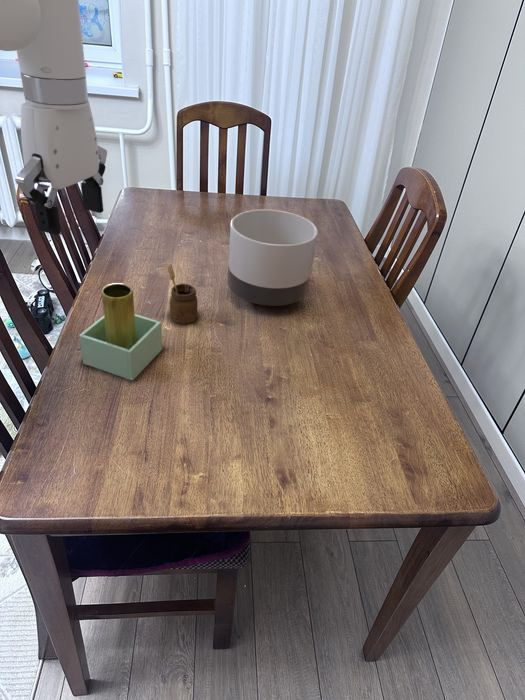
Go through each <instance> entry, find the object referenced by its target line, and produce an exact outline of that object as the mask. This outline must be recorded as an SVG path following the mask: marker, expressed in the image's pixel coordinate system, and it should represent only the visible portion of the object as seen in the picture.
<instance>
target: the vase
mask: <svg viewBox="0 0 525 700" xmlns="http://www.w3.org/2000/svg"><path fill="white" fill-rule="evenodd" d="M101 298H102V307H103V316H104V318H105V330H106V342H107V343H110V344H113V345H116V346H119V347H122V348H125V349H128V350H129V349H130V348H132V347H133V346H134V345H135V344H136V343H137V342H138V338H137V332H136V327H135V314H136V312H135V302H134V301H135V300H134V290H133V288H132V287H131V285H128V284H126V283H121V282H114V283H110V284H107V285H105V286H104V287H103V288H102V289H101Z"/></svg>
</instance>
